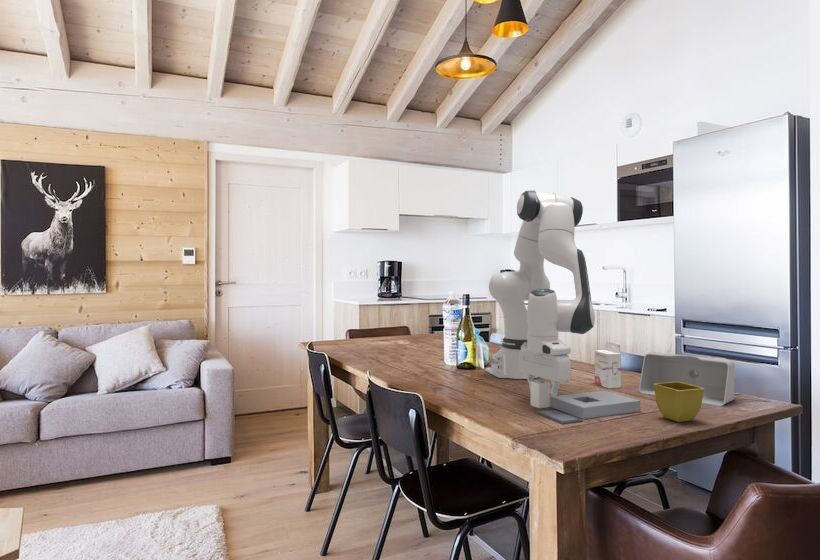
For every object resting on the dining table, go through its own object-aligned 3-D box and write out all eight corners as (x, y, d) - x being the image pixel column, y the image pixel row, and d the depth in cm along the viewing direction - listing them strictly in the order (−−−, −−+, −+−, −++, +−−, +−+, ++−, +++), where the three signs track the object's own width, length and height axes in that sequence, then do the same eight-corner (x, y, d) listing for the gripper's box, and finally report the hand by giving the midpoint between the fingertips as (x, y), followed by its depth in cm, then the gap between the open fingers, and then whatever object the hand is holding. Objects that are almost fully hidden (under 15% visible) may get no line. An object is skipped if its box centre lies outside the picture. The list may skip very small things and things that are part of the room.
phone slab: (535, 415, 150) (535, 411, 150) (554, 412, 152) (554, 409, 152) (562, 426, 138) (562, 422, 138) (582, 424, 141) (582, 420, 141)
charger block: (530, 405, 159) (530, 379, 158) (541, 403, 160) (541, 378, 160) (538, 408, 155) (538, 381, 155) (550, 406, 156) (550, 380, 156)
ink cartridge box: (593, 383, 189) (593, 341, 188) (606, 382, 190) (606, 341, 190) (608, 388, 180) (608, 344, 180) (621, 388, 182) (621, 344, 181)
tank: (740, 398, 168) (741, 357, 167) (724, 407, 156) (724, 364, 156) (658, 385, 186) (658, 349, 185) (638, 393, 175) (638, 354, 174)
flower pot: (704, 422, 140) (705, 387, 140) (678, 425, 138) (679, 390, 137) (677, 413, 149) (678, 381, 149) (652, 416, 146) (652, 383, 146)
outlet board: (550, 406, 156) (550, 396, 156) (604, 400, 164) (604, 390, 164) (583, 419, 143) (583, 407, 143) (640, 411, 151) (640, 400, 151)
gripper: (513, 341, 165) (513, 387, 165) (556, 350, 146) (556, 400, 147) (530, 340, 168) (530, 385, 168) (574, 348, 149) (575, 398, 149)
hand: (542, 392), depth 157 cm, fingers open, 8 cm apart
